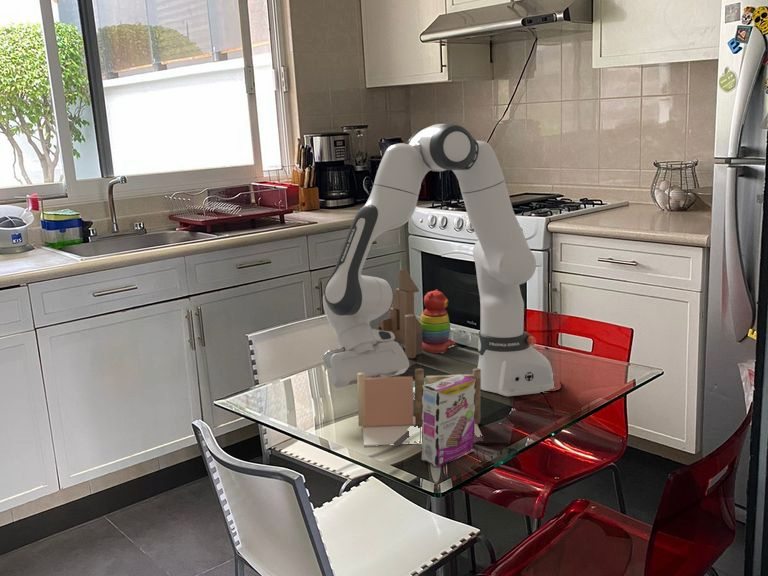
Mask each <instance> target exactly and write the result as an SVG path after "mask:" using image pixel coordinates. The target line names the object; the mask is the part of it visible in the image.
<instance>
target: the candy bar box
mask: <svg viewBox="0 0 768 576" xmlns="http://www.w3.org/2000/svg"><path fill="white" fill-rule="evenodd" d="M454 375H455V376H452V377H448V378H445V379H442V380H439V381H435V382H432V383H428V384H426V383H424V385H422V444H421V461H423V462H424V463H426V462H427V464H429V463H430V464H432V465H431V466H433V465H434V466H433V467H435V466H436V467H435V468H439V467H441V466H444V465H446V464H448V462H449V461H451V460H453V459H455V458H457V457H459V456H461V455H463V454H465V453H466V452H468V451H470V450H471V449H473V448H474V449H475V442H474V424H475V385H476V379H473V378H470V377H467V376H464V375H465V374H459V373H458V374H454ZM453 461H454V460H453ZM451 462H452V461H451ZM445 463H446V464H445ZM449 463H450V462H449ZM430 464H429V465H430ZM443 464H444V465H443ZM438 466H439V467H438Z"/></svg>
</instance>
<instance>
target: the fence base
mask: <svg viewBox="0 0 768 576" xmlns="http://www.w3.org/2000/svg"><path fill="white" fill-rule="evenodd" d="M424 373H425V370H424V368H419V367H418V368H415V369H414V416H415V425H417V426H422V385H425V384H428V383H432V382H435V381H439V380H442V379H445V378H448V377H452V376H455V375H456V374H445V375H444V374H443V375H424ZM463 375H464V376H467V377H470V378H473V379H476V385H475V424H477V425H479V424H481V393H482V392H481V391H482V389H481V369H478V367H477V368H472V373H471V374H463ZM424 379H425V380H424ZM424 382H425V383H424Z"/></svg>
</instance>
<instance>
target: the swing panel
mask: <svg viewBox="0 0 768 576" xmlns="http://www.w3.org/2000/svg"><path fill="white" fill-rule="evenodd" d="M357 382H358V384H357V409H358V410H357V413H358V426H359V427H362V428H363V427H364V426H380V425H406V424H413V417H414V378H413V375H409V376H389V377H379V378H365V373H358V374H357Z"/></svg>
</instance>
